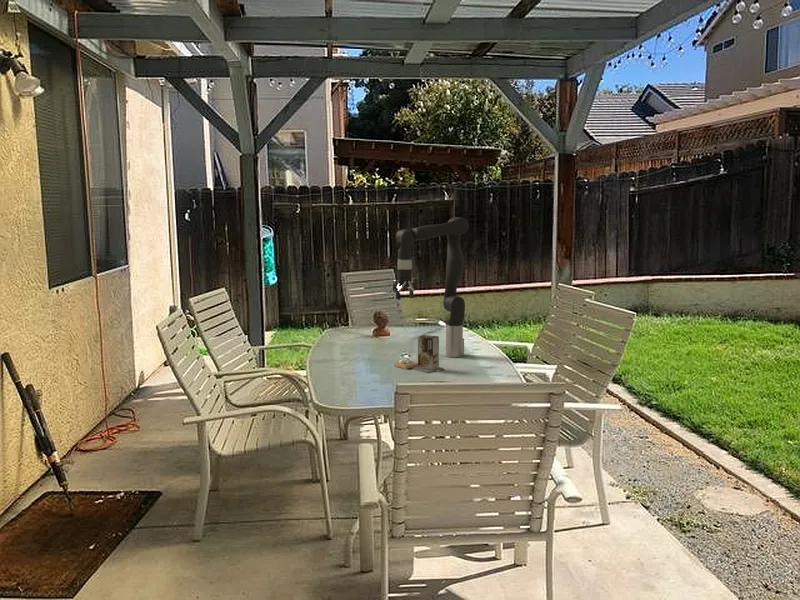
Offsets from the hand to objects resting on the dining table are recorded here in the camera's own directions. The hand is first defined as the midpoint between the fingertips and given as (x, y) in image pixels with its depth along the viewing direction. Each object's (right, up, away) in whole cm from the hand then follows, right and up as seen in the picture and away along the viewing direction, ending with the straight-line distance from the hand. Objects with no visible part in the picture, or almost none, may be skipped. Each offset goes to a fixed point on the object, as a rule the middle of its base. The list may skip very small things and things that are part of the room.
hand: (404, 298), depth 361 cm
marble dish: (+1, -35, -9) cm, 36 cm away
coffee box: (+12, -35, -15) cm, 40 cm away
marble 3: (+2, -33, -11) cm, 35 cm away
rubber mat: (+12, -35, -15) cm, 40 cm away
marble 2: (+1, -32, -7) cm, 33 cm away
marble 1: (-2, -33, -9) cm, 34 cm away
